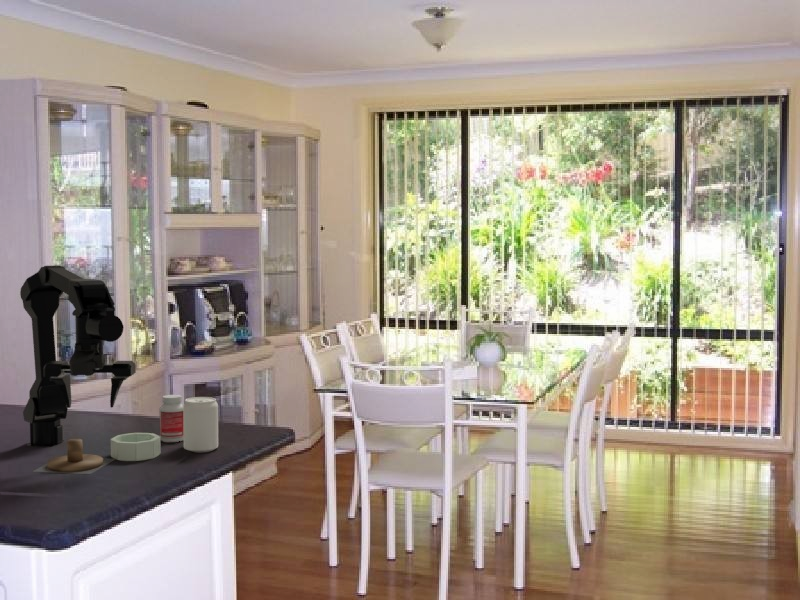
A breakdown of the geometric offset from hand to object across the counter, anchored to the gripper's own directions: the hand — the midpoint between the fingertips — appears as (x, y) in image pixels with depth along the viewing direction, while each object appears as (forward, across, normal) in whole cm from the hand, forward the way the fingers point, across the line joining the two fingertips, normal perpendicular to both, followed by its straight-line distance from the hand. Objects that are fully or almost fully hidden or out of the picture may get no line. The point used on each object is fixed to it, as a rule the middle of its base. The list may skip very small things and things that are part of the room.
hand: (90, 407), depth 207 cm
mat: (+13, -3, -3) cm, 13 cm away
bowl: (+13, +9, +6) cm, 16 cm away
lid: (+12, -3, -3) cm, 13 cm away
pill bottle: (+13, +14, +23) cm, 30 cm away
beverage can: (+13, +22, +13) cm, 29 cm away
